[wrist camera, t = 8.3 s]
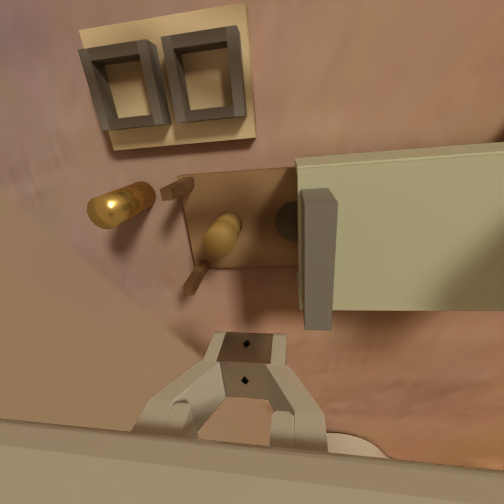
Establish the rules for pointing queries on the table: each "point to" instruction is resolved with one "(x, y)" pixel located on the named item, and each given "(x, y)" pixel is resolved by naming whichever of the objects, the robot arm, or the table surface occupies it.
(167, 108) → the tan socket tray
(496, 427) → the table surface
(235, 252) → the base
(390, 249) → the lid
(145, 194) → the pin
